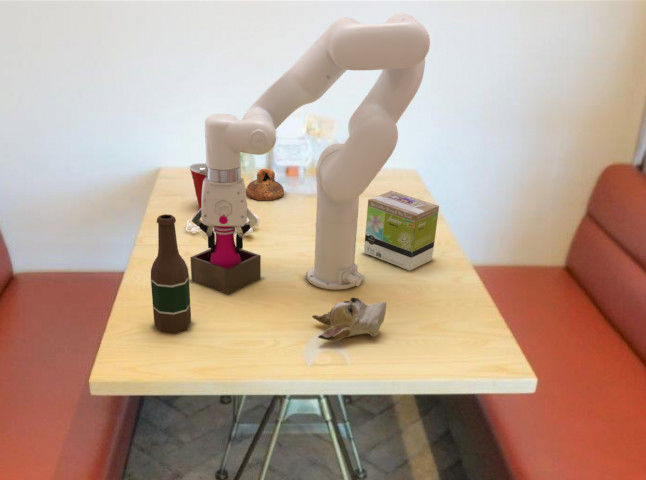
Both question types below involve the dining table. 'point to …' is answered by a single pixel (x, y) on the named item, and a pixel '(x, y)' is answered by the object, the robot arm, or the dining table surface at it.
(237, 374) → the dining table surface
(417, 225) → the tea box
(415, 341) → the dining table surface
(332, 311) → the ceramic sculpture
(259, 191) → the bell
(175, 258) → the beer bottle
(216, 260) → the pepper mill
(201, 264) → the box
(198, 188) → the plastic cup
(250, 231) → the tangled rod sculpture
